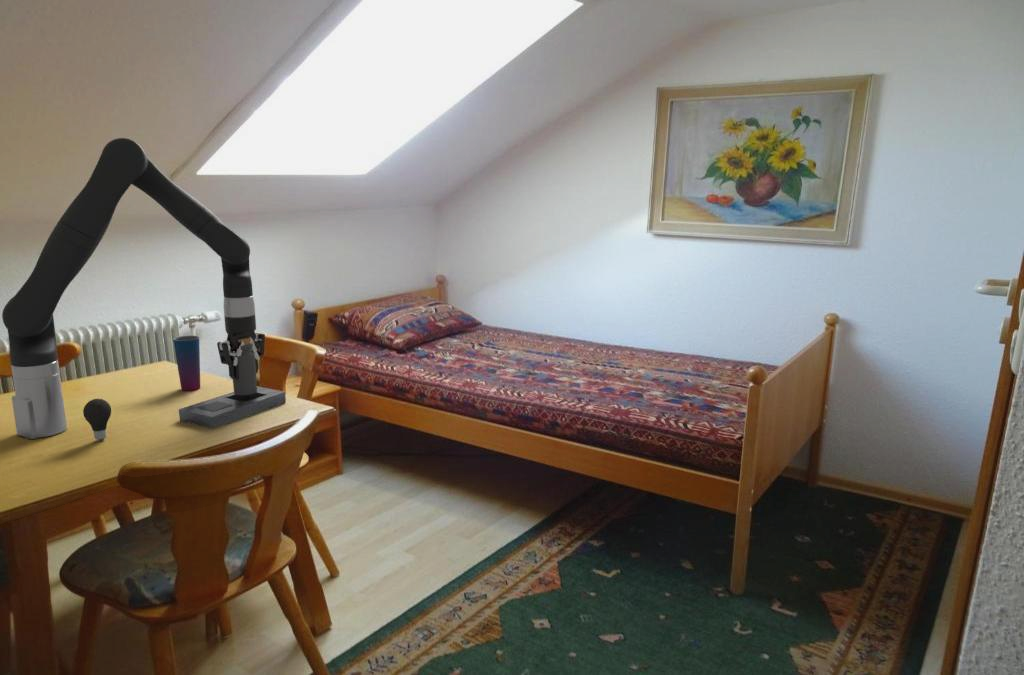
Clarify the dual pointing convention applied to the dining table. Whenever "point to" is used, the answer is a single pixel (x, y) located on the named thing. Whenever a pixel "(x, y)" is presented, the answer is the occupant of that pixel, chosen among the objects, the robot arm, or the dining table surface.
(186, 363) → the cup
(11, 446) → the dining table surface
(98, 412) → the light bulb
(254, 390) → the bottle
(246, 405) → the panel
